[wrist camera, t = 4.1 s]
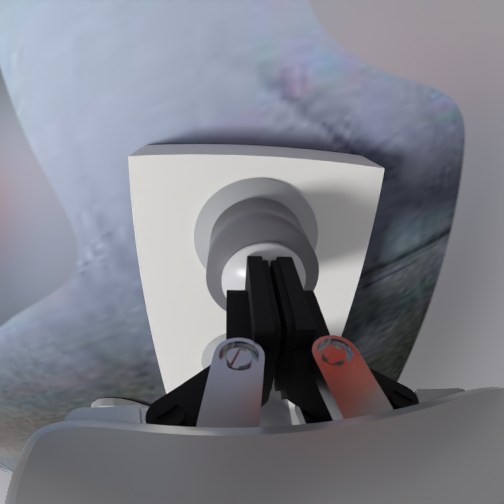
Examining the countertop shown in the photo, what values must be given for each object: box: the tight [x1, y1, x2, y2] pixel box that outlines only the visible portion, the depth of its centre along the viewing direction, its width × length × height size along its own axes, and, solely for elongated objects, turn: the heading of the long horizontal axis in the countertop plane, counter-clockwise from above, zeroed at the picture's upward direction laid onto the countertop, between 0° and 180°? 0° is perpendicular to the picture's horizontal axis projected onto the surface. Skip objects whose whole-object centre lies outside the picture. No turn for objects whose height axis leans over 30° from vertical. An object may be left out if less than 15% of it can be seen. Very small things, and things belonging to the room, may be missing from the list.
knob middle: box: [259, 381, 292, 427], centre depth 15 cm, size 4×4×3 cm
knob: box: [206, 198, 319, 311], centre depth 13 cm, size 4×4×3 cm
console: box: [128, 144, 385, 425], centre depth 20 cm, size 26×12×3 cm, turn 177°
